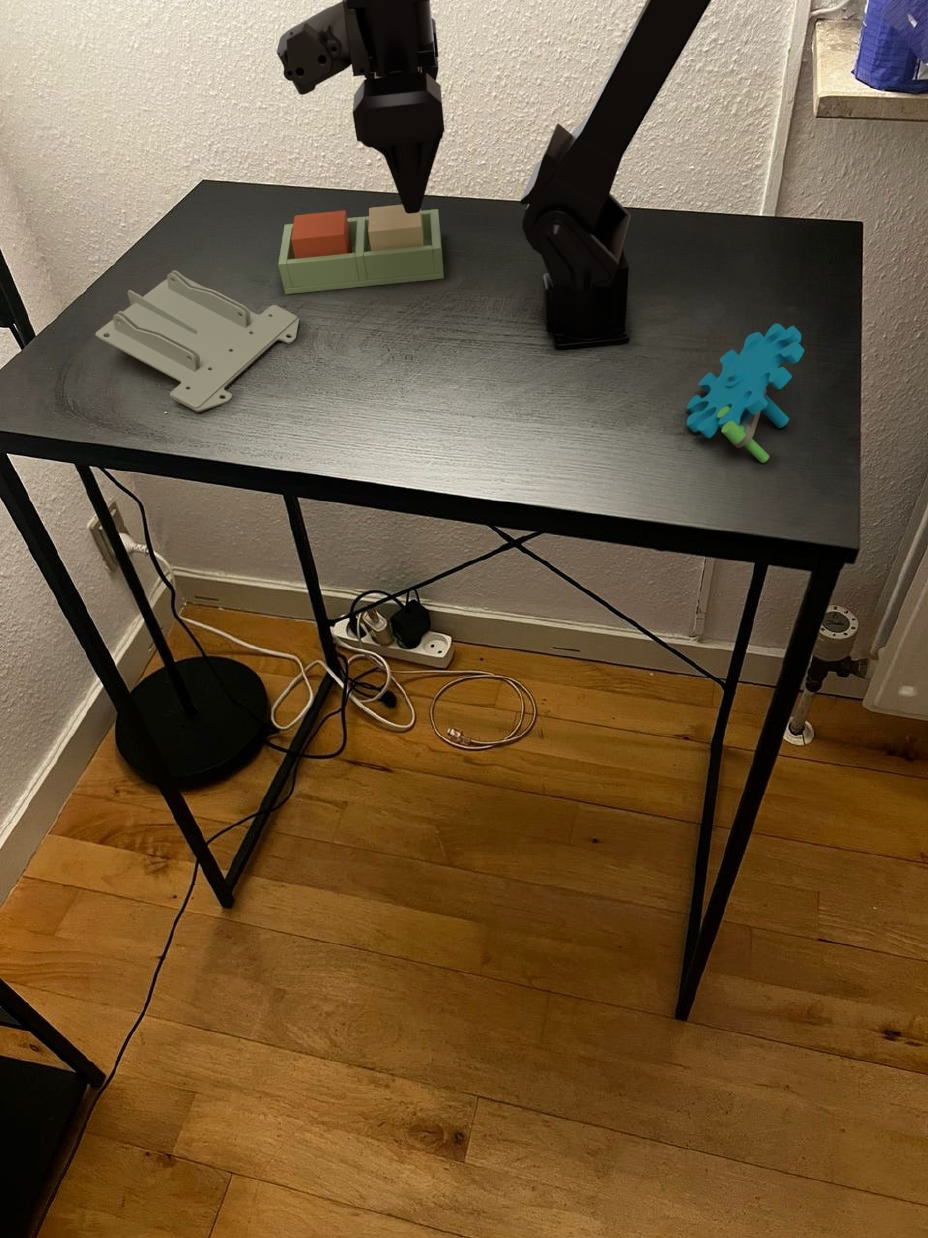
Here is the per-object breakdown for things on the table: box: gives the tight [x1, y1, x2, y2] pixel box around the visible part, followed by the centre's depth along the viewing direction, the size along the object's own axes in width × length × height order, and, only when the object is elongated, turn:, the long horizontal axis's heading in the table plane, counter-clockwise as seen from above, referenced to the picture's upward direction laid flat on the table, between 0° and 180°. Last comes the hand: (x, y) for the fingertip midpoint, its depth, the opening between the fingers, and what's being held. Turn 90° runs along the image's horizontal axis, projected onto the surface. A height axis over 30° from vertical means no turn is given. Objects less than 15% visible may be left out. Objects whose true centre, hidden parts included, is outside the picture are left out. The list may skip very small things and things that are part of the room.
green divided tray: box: [277, 208, 445, 295], centre depth 92 cm, size 15×8×3 cm, turn 93°
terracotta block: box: [291, 209, 352, 259], centre depth 91 cm, size 5×5×4 cm
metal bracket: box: [95, 270, 300, 413], centre depth 84 cm, size 14×6×15 cm
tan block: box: [368, 204, 425, 251], centre depth 91 cm, size 5×5×4 cm
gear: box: [686, 323, 805, 464], centre depth 70 cm, size 11×6×10 cm
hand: (412, 186), depth 77 cm, fingers open, 9 cm apart
